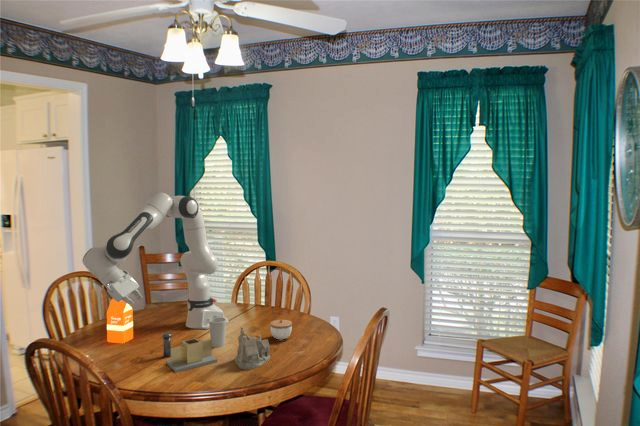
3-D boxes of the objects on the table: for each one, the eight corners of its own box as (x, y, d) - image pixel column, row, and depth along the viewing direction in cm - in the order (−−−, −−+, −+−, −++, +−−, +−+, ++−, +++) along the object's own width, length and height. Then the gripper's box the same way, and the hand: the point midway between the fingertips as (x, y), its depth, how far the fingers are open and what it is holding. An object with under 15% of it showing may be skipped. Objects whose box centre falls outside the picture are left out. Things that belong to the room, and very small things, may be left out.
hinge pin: (170, 353, 203) (169, 332, 202) (173, 356, 200) (173, 334, 199) (161, 355, 201) (160, 333, 200) (164, 358, 198) (163, 336, 197)
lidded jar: (265, 339, 223) (265, 320, 222) (277, 333, 232) (278, 315, 232) (284, 343, 218) (284, 324, 217) (296, 336, 227) (296, 318, 227)
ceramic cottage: (237, 370, 187) (239, 333, 186) (233, 356, 202) (235, 323, 202) (274, 368, 191) (277, 333, 191) (267, 355, 207) (269, 322, 207)
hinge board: (206, 353, 204) (206, 351, 204) (217, 361, 195) (217, 359, 195) (166, 363, 193) (166, 360, 193) (175, 372, 184) (175, 369, 184)
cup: (211, 348, 210) (211, 323, 209) (207, 343, 217) (207, 318, 216) (228, 346, 213) (228, 321, 213) (223, 340, 220) (223, 316, 220)
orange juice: (123, 343, 215) (122, 302, 213) (107, 342, 217) (106, 300, 215) (133, 338, 223) (132, 297, 221) (117, 336, 224) (116, 296, 223)
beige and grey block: (208, 352, 202) (208, 335, 201) (214, 357, 197) (214, 339, 196) (168, 362, 191) (168, 343, 190) (174, 367, 186) (173, 348, 185)
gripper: (109, 279, 186) (134, 303, 188) (127, 269, 207) (150, 291, 208) (98, 290, 186) (123, 313, 188) (118, 279, 207) (140, 300, 208)
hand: (137, 301), depth 198 cm, fingers open, 8 cm apart
